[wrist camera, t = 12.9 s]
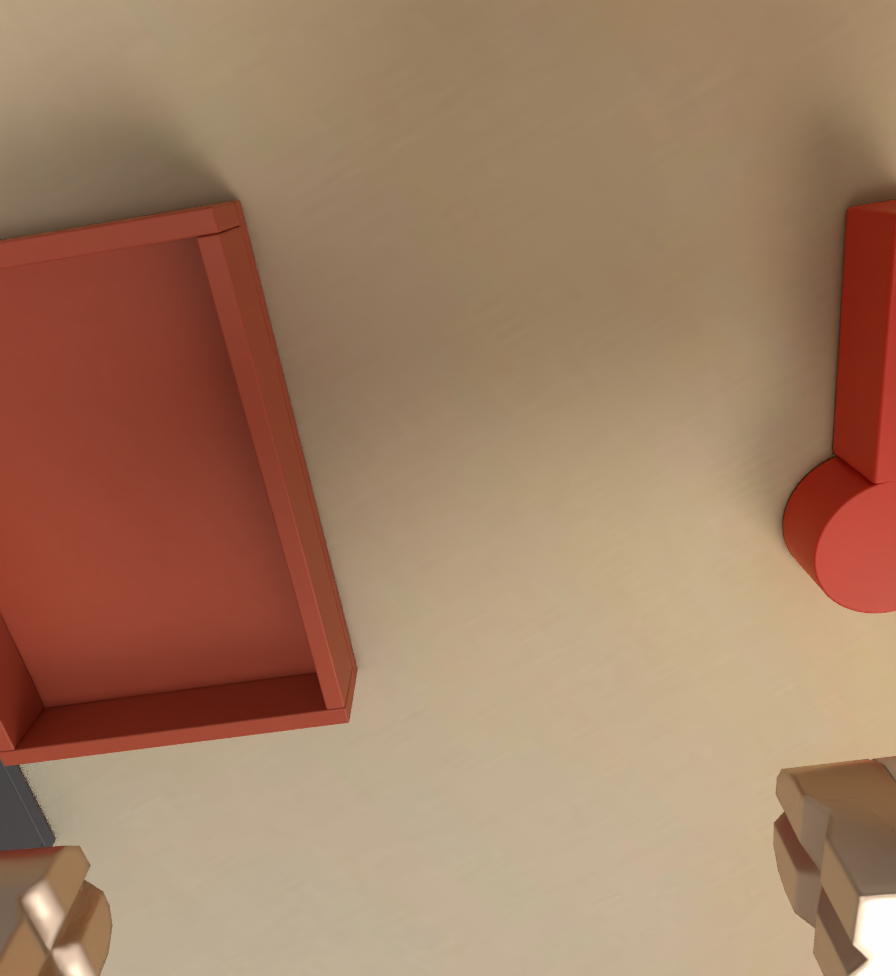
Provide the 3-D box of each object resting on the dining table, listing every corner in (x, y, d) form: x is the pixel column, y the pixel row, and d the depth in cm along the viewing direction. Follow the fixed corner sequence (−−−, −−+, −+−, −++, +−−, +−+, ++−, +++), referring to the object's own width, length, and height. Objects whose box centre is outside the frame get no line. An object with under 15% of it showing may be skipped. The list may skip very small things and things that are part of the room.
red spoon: (791, 215, 20) (835, 223, 18) (963, 188, 19) (1029, 192, 17) (780, 584, 24) (814, 626, 22) (919, 565, 24) (967, 607, 22)
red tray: (-166, 268, 20) (-248, 282, 18) (240, 199, 19) (212, 205, 17) (43, 711, 26) (3, 767, 24) (358, 670, 26) (349, 723, 23)
